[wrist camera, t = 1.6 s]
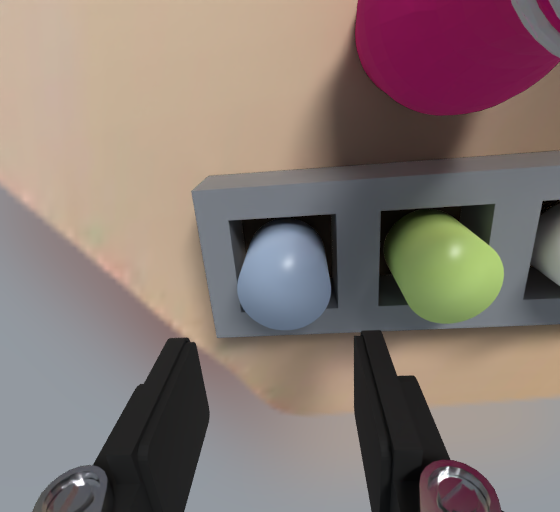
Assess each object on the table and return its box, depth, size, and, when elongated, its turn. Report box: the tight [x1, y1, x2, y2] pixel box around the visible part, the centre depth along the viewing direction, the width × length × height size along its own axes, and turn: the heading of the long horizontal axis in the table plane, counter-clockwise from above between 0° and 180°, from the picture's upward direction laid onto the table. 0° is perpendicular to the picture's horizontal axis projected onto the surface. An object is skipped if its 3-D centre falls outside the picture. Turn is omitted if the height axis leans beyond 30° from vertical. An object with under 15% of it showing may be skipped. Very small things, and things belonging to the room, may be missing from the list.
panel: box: [191, 151, 560, 338], centre depth 19 cm, size 22×8×4 cm, turn 95°
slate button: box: [237, 218, 331, 330], centre depth 18 cm, size 4×4×4 cm
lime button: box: [383, 209, 504, 324], centre depth 17 cm, size 4×4×4 cm
